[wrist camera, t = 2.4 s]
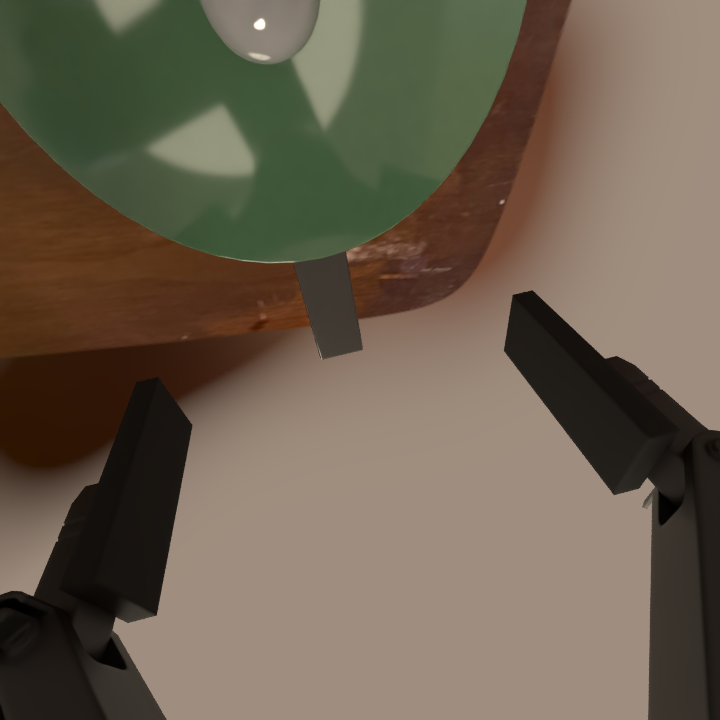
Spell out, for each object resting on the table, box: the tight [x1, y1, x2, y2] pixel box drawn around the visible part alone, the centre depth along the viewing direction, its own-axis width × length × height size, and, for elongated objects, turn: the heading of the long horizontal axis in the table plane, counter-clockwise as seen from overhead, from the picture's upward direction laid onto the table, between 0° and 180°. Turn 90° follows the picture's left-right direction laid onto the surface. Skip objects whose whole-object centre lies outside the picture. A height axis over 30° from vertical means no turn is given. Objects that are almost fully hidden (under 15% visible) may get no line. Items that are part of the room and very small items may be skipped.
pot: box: [0, 0, 527, 359], centre depth 13 cm, size 19×13×13 cm, turn 8°
